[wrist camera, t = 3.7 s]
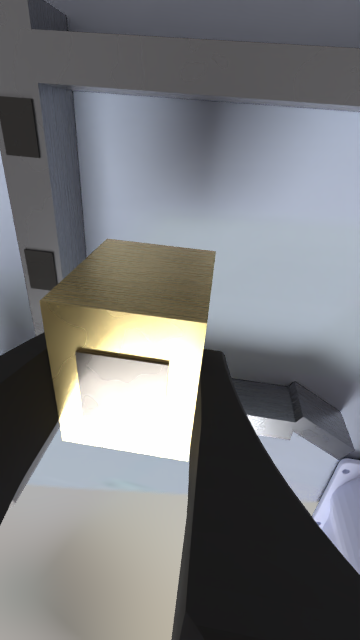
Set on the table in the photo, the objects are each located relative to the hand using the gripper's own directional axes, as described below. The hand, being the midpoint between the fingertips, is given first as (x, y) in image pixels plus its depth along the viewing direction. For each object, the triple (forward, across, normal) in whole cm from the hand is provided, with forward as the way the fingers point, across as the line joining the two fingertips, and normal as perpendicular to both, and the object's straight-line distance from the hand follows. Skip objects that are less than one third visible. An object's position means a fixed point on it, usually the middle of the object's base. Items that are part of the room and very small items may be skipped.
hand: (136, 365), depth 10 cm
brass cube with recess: (+3, 0, 0) cm, 4 cm away
